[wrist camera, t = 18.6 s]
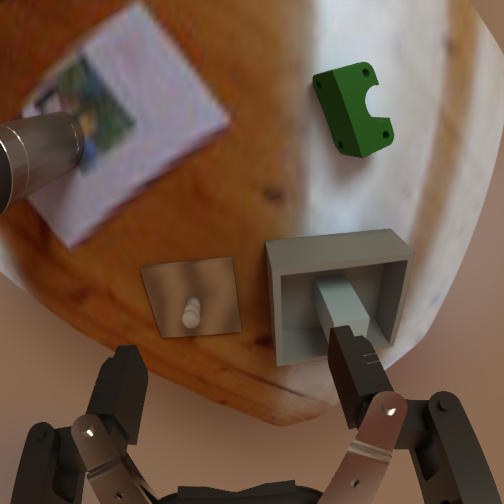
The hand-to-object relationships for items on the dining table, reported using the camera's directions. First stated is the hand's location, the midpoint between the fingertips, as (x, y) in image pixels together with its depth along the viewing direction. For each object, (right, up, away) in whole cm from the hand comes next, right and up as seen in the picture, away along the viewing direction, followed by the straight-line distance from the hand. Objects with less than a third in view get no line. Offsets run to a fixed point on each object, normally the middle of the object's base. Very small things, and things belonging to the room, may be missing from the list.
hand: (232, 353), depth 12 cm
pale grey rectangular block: (+13, -2, +37) cm, 40 cm away
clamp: (+13, +24, +25) cm, 37 cm away
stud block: (-9, -3, +38) cm, 39 cm away
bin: (+13, -1, +38) cm, 40 cm away
